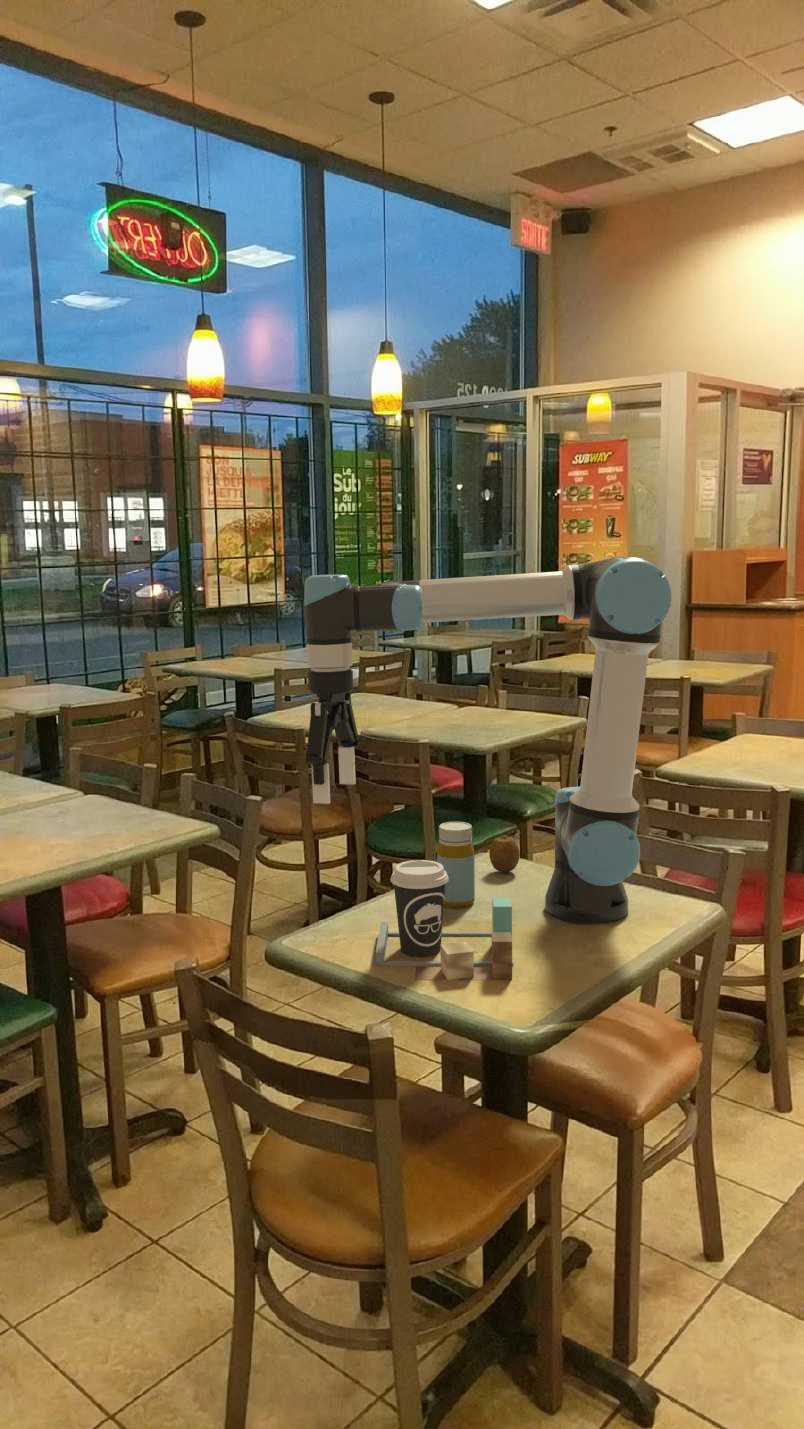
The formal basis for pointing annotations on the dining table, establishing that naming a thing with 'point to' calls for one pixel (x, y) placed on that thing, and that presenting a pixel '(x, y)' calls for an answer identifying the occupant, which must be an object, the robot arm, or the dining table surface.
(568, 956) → the dining table surface
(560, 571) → the robot arm
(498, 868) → the fruit
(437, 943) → the coffee cup
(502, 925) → the grey rectangular frame
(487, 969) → the wooden l-shaped block
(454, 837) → the bottle
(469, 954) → the maple block
